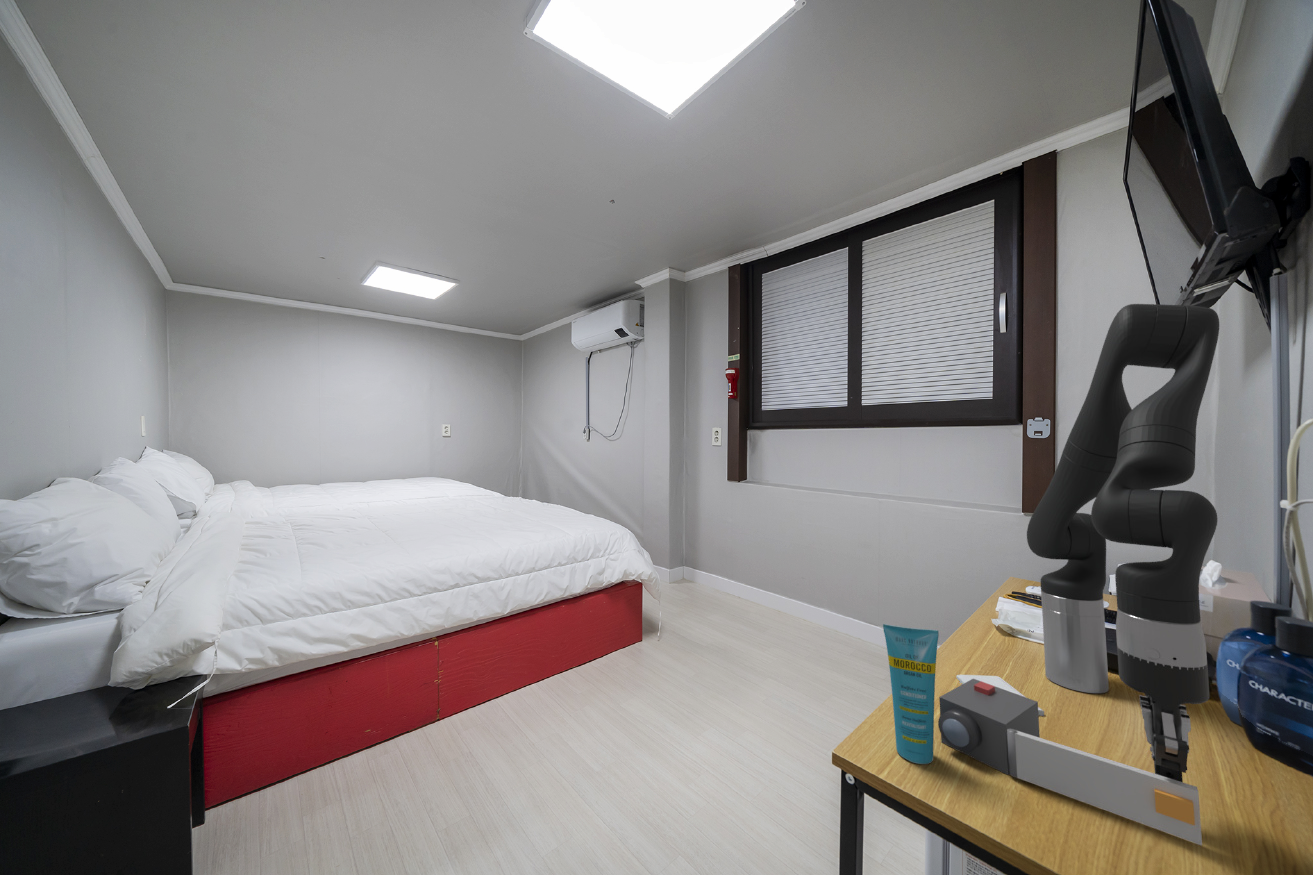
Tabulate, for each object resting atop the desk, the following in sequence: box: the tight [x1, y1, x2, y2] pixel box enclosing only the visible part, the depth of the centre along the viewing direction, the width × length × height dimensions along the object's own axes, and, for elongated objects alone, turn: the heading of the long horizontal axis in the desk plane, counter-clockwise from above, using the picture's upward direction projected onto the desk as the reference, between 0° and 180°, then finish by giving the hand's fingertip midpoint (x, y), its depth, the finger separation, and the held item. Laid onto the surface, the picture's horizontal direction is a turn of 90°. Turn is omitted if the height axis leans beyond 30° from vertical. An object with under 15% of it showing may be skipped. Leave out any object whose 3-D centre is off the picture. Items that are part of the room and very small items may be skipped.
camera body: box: [937, 679, 1041, 776], centre depth 71 cm, size 13×9×8 cm
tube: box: [882, 623, 939, 765], centre depth 70 cm, size 7×5×19 cm, turn 69°
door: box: [1007, 728, 1203, 846], centre depth 59 cm, size 18×2×6 cm, turn 47°
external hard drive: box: [956, 674, 1045, 717], centre depth 86 cm, size 2×8×12 cm
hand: (1169, 793), depth 56 cm, fingers closed
